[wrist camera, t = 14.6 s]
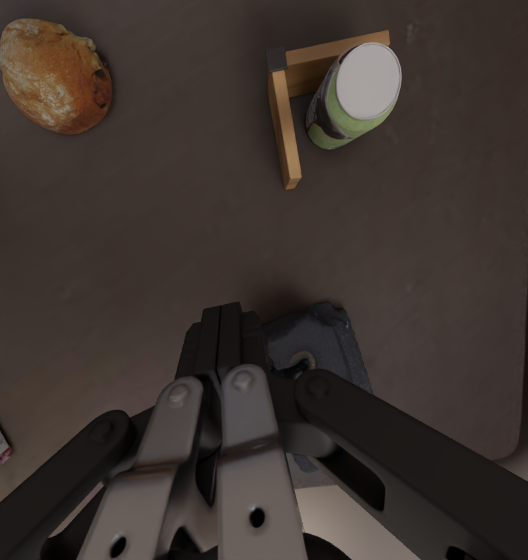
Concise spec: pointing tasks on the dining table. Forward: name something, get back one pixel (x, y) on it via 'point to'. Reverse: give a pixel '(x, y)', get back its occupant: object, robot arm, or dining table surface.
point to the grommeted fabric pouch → (315, 350)
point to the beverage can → (354, 95)
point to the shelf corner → (301, 90)
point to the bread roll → (54, 76)
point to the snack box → (4, 449)
